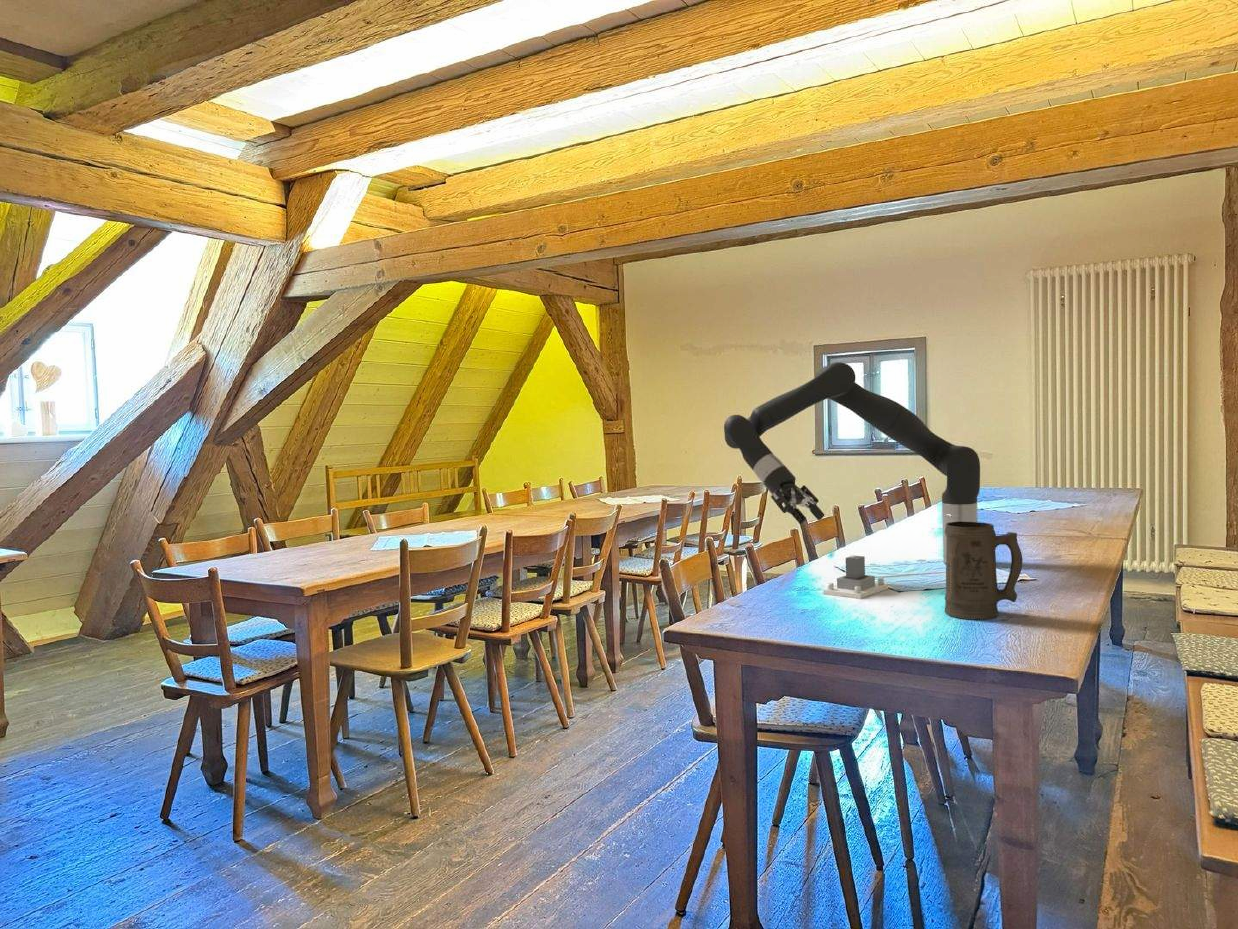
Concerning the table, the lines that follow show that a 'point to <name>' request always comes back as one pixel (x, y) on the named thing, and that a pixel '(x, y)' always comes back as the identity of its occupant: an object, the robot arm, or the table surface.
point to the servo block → (855, 567)
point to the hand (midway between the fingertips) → (813, 519)
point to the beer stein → (977, 570)
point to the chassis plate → (856, 587)
